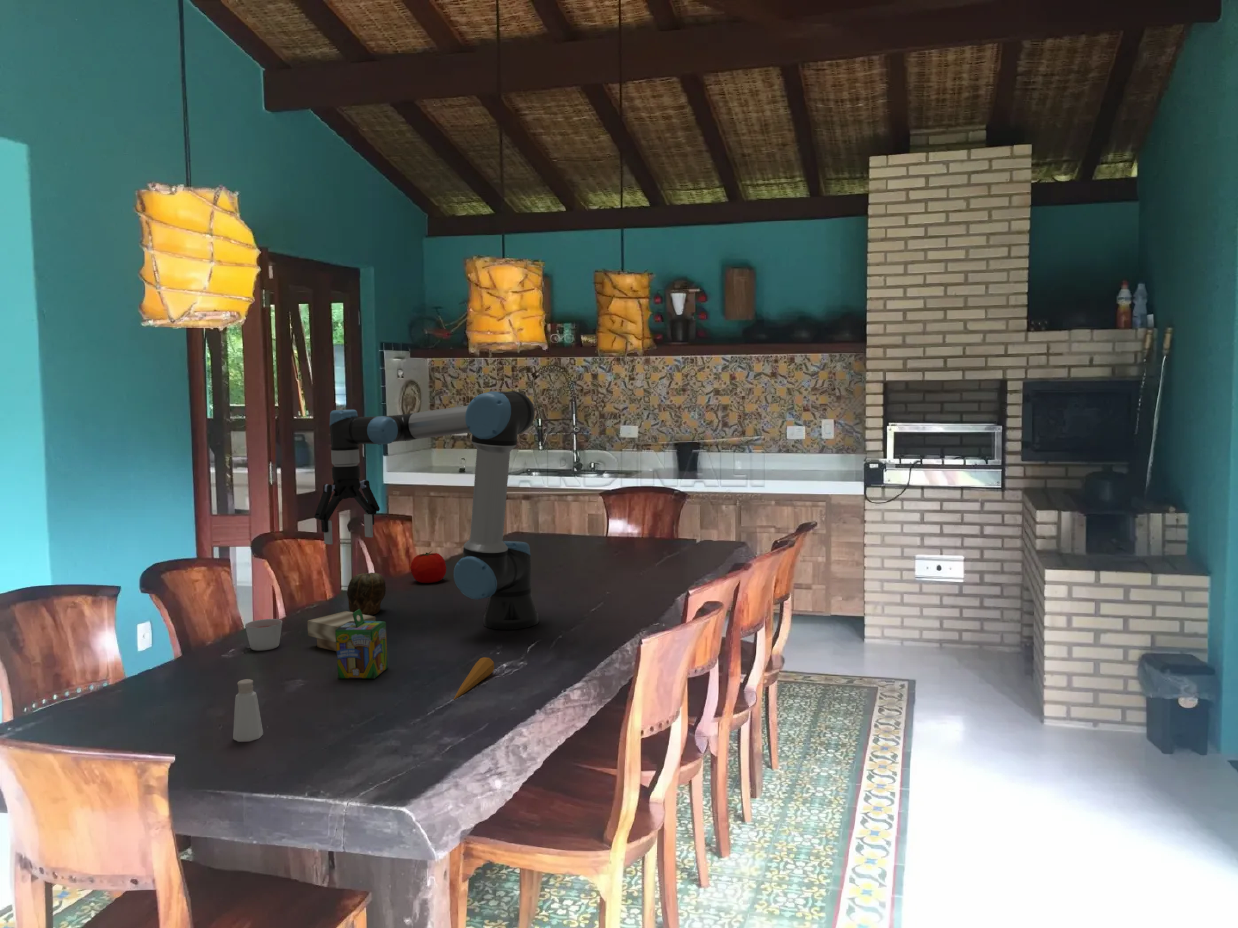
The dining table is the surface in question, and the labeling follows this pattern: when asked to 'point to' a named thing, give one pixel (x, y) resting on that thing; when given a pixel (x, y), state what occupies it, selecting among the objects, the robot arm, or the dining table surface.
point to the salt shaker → (246, 713)
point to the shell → (366, 593)
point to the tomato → (428, 567)
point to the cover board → (332, 624)
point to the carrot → (476, 675)
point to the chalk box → (361, 648)
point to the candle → (264, 634)
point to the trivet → (326, 644)
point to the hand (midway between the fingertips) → (349, 540)
